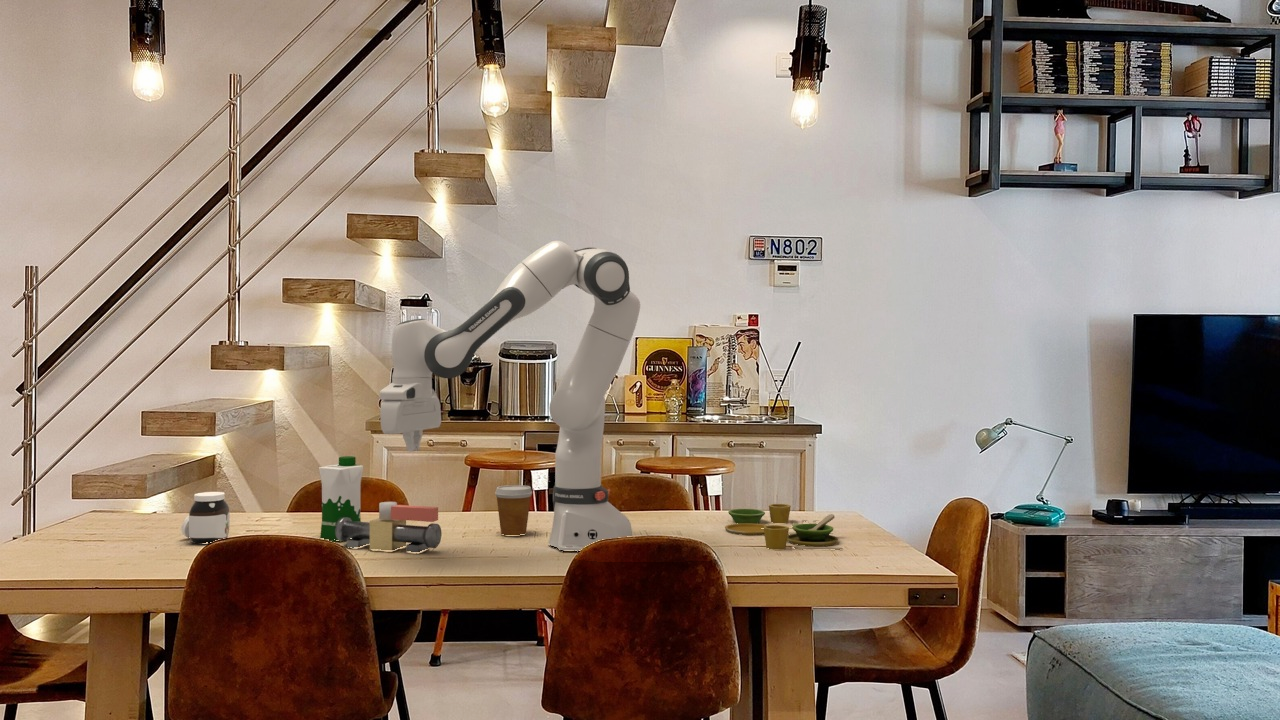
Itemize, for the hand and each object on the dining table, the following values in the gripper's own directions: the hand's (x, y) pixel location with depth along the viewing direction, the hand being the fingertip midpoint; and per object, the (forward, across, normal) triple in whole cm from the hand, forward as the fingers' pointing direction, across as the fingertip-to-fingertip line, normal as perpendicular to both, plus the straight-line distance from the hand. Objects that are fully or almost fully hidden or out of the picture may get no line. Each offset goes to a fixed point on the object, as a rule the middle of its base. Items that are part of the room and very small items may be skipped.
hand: (413, 450), depth 218 cm
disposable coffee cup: (+24, -30, +10) cm, 40 cm away
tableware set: (+26, -54, +74) cm, 95 cm away
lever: (+16, -4, -4) cm, 17 cm away
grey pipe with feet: (+24, -4, -9) cm, 26 cm away
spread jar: (+23, +2, -57) cm, 62 cm away
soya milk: (+24, -11, -28) cm, 38 cm away
